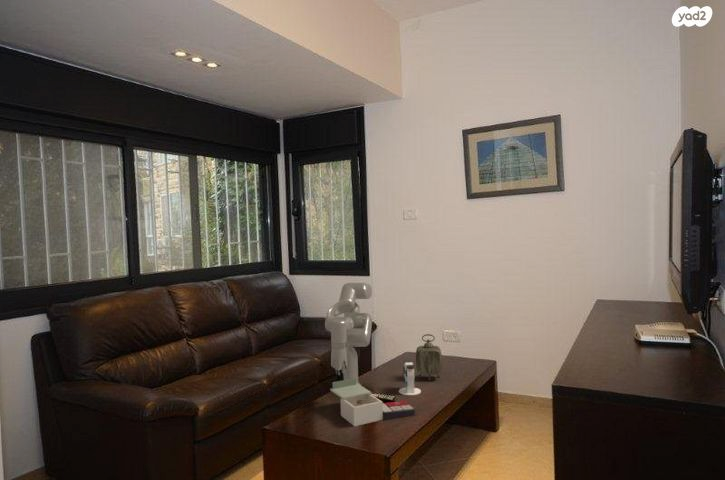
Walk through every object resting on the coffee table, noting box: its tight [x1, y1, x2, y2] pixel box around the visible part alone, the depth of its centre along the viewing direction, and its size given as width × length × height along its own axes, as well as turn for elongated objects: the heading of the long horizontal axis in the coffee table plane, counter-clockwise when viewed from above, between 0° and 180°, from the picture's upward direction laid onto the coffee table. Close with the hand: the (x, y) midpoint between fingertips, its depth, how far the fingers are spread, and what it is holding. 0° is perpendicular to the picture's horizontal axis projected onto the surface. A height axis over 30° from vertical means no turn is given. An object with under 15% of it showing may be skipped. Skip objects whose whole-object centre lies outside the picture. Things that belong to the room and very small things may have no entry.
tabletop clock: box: [415, 333, 443, 381], centre depth 266 cm, size 14×9×25 cm, turn 84°
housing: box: [339, 393, 384, 427], centre depth 214 cm, size 14×14×8 cm
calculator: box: [382, 400, 416, 421], centre depth 218 cm, size 11×4×15 cm
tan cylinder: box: [357, 400, 366, 406], centre depth 214 cm, size 4×4×6 cm
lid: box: [329, 378, 372, 399], centre depth 224 cm, size 14×14×4 cm
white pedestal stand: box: [398, 359, 422, 396], centre depth 247 cm, size 12×11×15 cm
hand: (340, 382), depth 234 cm, fingers closed
